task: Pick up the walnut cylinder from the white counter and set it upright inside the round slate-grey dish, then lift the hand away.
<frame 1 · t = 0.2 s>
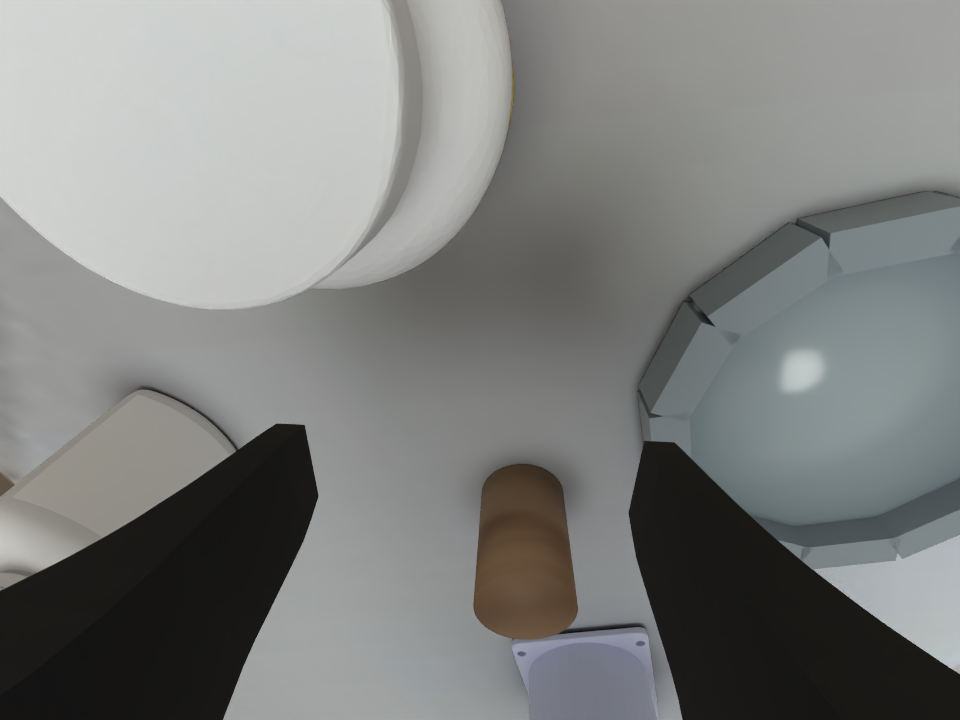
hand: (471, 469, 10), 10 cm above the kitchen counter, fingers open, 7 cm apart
walnut cylinder: (522, 495, 24), on the kitchen counter
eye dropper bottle: (186, 429, 23), on the kitchen counter
slate dish: (838, 397, 20), on the kitchen counter
supplement bottle: (411, 90, 16), on the kitchen counter
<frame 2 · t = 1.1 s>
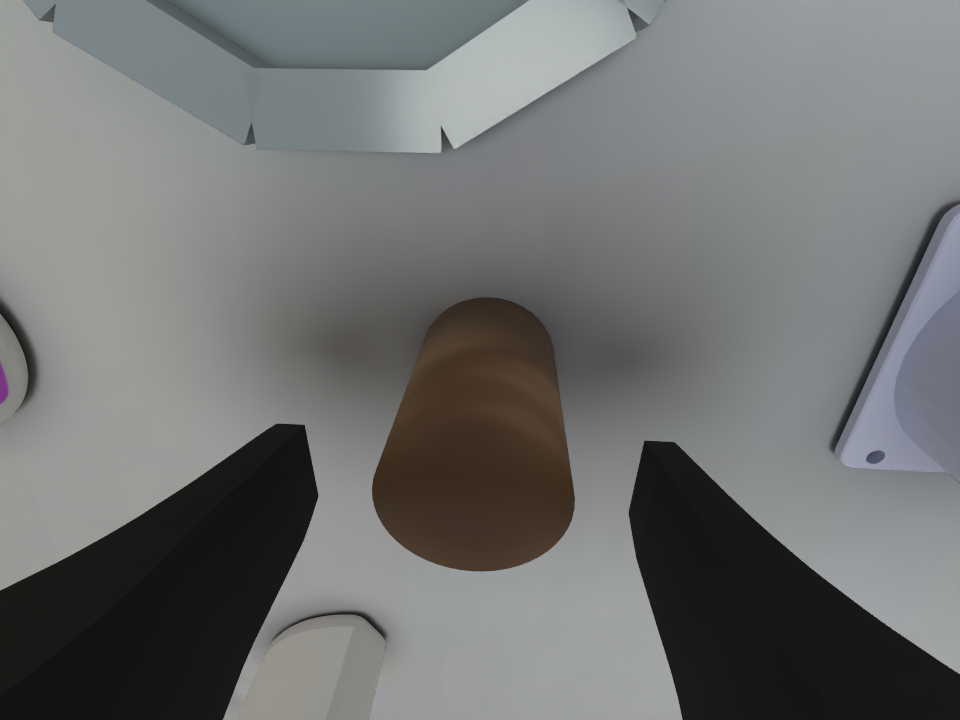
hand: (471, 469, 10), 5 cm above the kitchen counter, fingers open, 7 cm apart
walnut cylinder: (487, 359, 15), on the kitchen counter
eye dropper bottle: (330, 634, 23), on the kitchen counter
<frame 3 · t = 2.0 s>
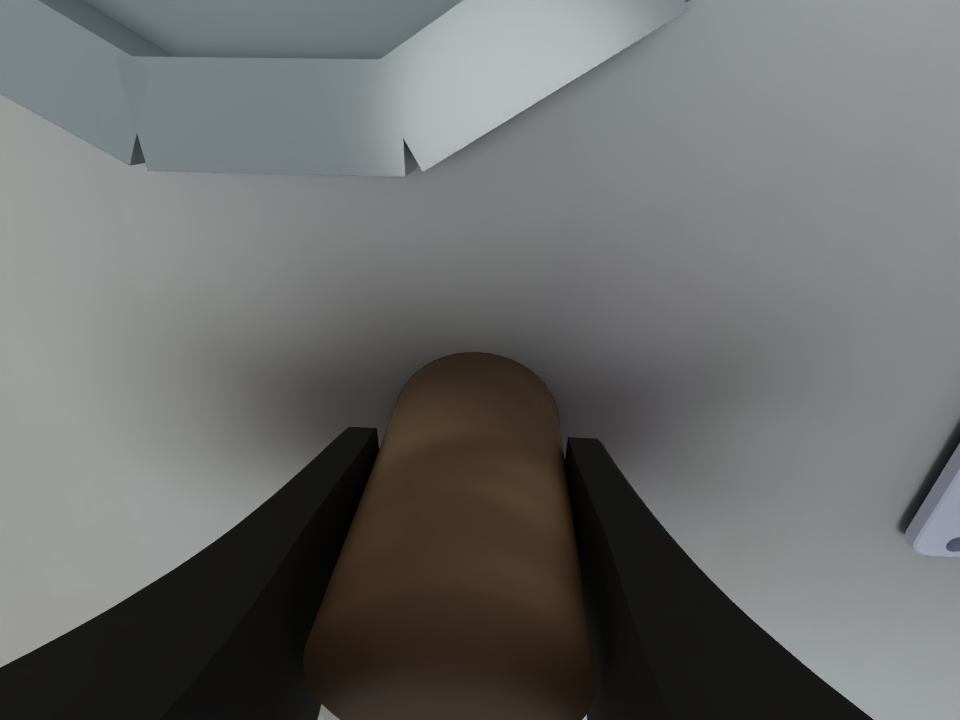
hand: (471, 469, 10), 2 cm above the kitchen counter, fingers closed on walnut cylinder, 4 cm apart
walnut cylinder: (476, 424, 12), on the kitchen counter, touching gripper
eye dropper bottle: (299, 717, 20), on the kitchen counter
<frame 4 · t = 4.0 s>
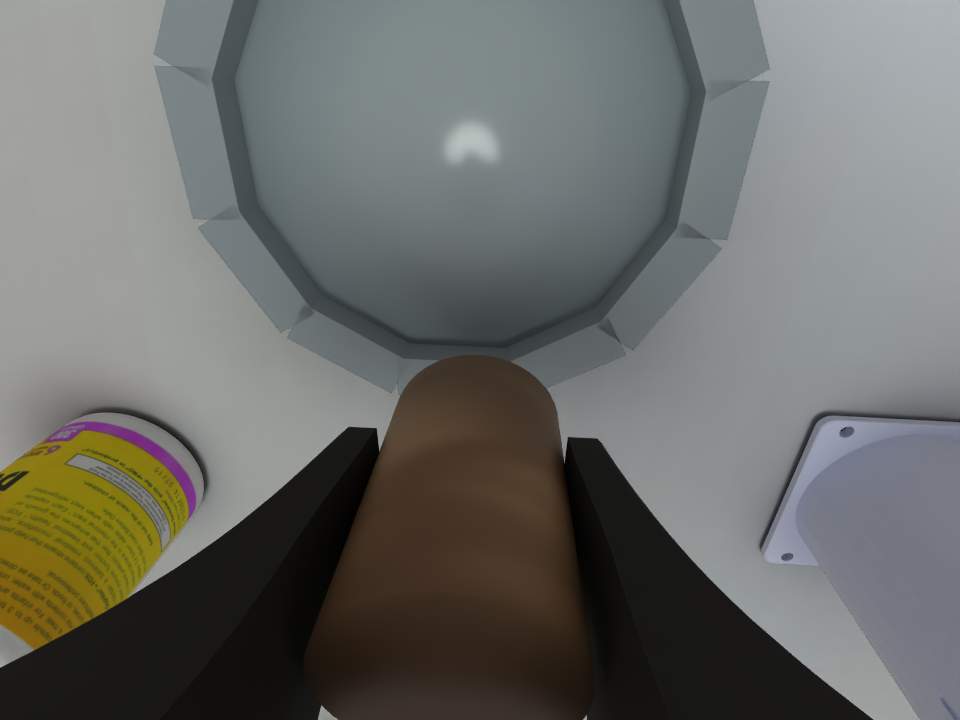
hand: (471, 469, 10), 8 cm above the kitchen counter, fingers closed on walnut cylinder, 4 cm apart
walnut cylinder: (476, 426, 12), point 7 cm above the kitchen counter, touching gripper
slate dish: (460, 149, 15), on the kitchen counter
supplement bottle: (141, 462, 23), on the kitchen counter
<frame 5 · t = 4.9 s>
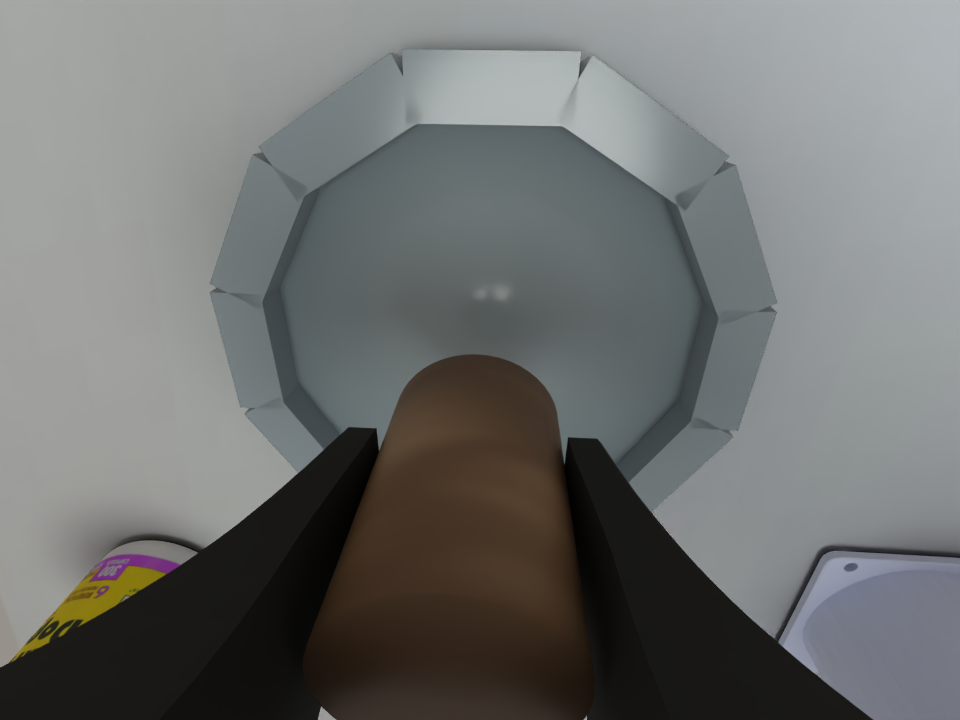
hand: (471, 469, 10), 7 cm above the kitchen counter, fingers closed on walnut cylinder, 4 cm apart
walnut cylinder: (476, 426, 12), point 5 cm above the kitchen counter, touching gripper
slate dish: (487, 335, 16), on the kitchen counter
supplement bottle: (178, 577, 24), on the kitchen counter
when the fingers open (3 cm above the kitchen counter, at t = 5.8 s): walnut cylinder stays where it is, resting on slate dish.
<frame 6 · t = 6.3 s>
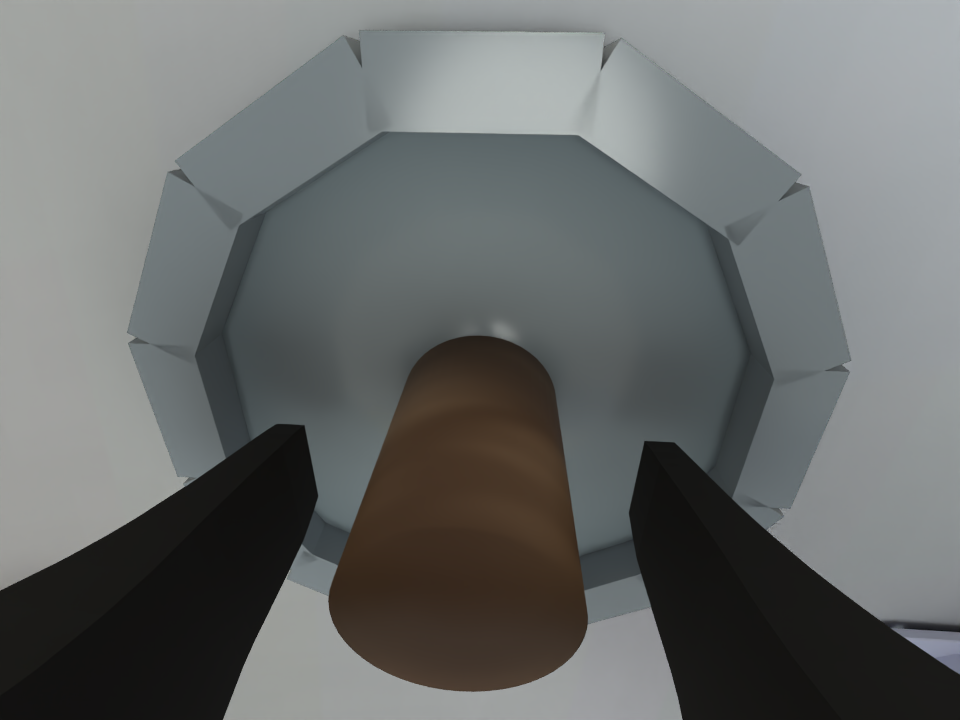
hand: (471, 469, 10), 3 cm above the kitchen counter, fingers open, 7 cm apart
walnut cylinder: (479, 404, 13), point 1 cm above the kitchen counter, touching slate dish
slate dish: (480, 386, 13), on the kitchen counter
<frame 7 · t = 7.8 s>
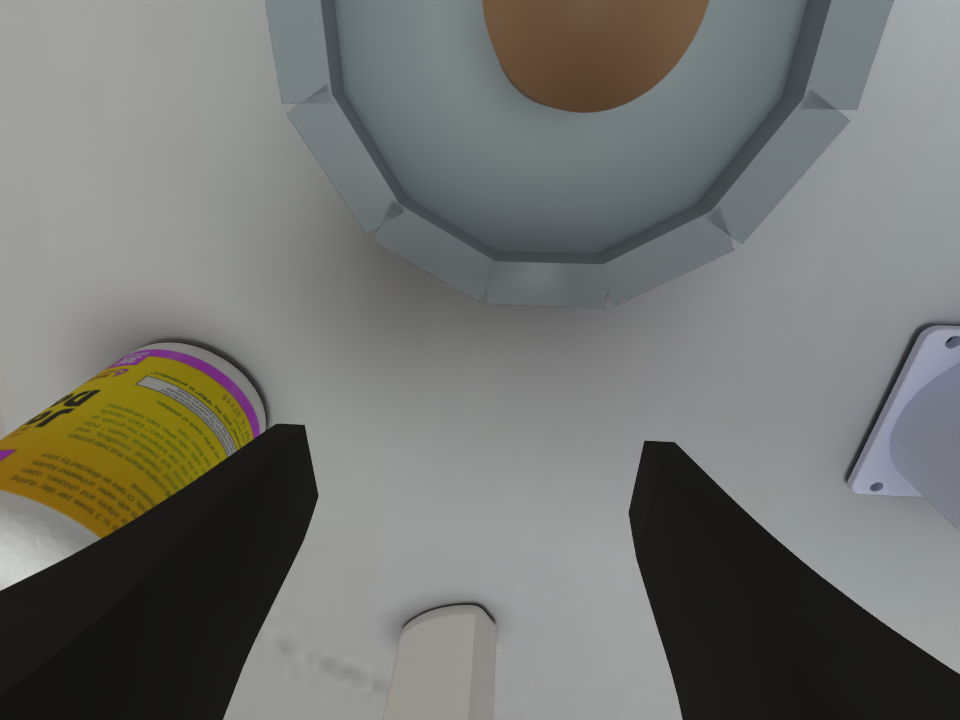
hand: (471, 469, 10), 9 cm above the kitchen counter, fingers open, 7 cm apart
walnut cylinder: (564, 27, 14), point 1 cm above the kitchen counter, touching slate dish
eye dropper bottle: (449, 621, 29), on the kitchen counter
slate dish: (561, 29, 14), on the kitchen counter
supplement bottle: (200, 400, 22), on the kitchen counter
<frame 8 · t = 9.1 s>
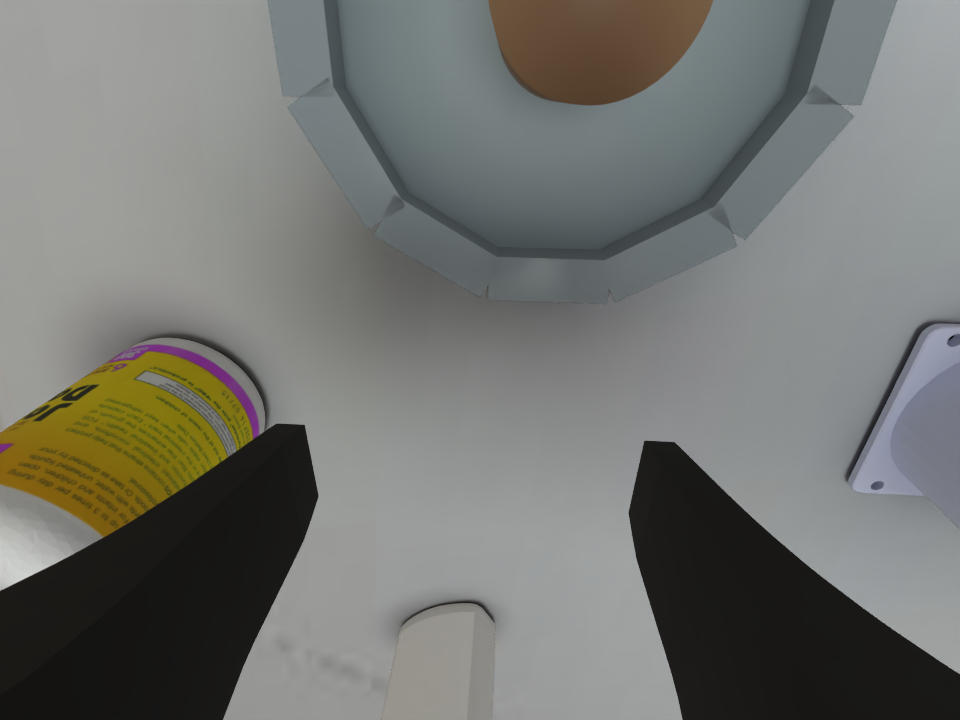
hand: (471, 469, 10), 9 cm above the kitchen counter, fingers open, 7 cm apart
walnut cylinder: (567, 21, 14), point 1 cm above the kitchen counter, touching slate dish
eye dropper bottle: (448, 619, 29), on the kitchen counter
slate dish: (564, 23, 14), on the kitchen counter
supplement bottle: (199, 396, 22), on the kitchen counter
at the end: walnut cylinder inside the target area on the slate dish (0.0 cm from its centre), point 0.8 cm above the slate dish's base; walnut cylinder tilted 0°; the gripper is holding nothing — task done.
